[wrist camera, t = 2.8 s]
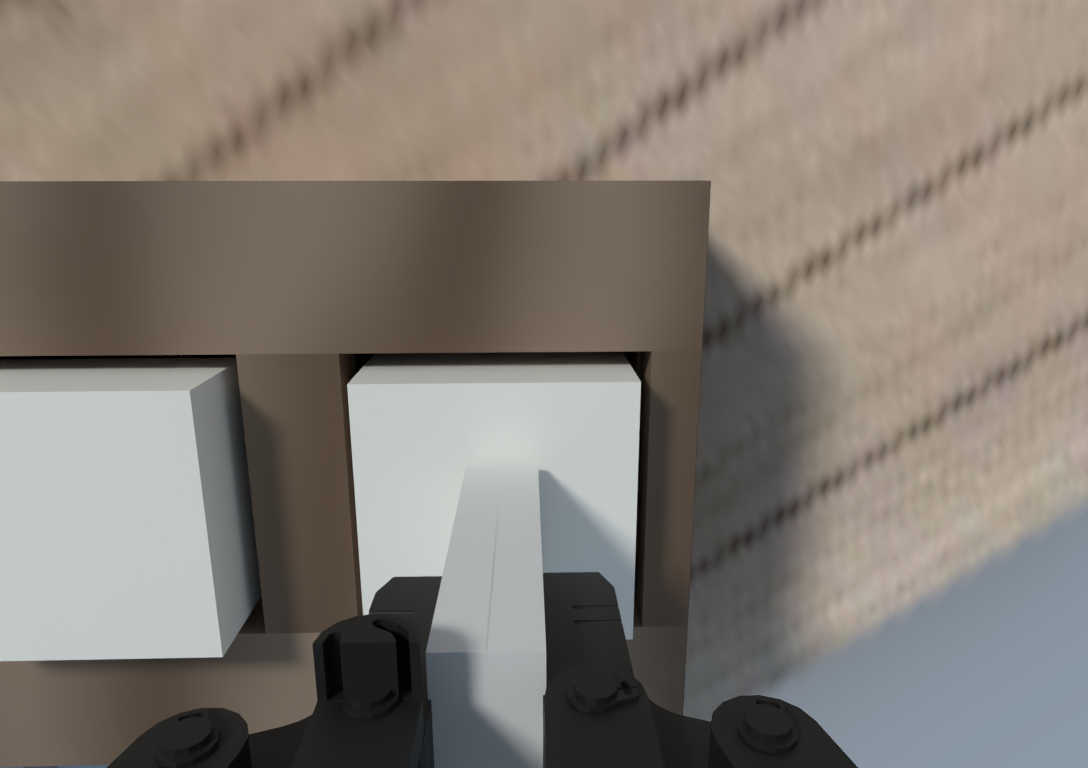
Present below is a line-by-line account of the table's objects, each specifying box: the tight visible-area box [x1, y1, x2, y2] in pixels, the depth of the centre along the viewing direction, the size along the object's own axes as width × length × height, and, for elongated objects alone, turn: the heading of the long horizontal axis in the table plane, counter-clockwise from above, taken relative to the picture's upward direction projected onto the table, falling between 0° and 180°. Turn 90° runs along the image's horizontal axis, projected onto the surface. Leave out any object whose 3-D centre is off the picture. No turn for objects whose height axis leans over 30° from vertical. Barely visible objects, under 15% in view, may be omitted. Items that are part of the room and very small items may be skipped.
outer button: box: [347, 352, 641, 640], centre depth 18 cm, size 6×6×3 cm
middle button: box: [0, 358, 262, 661], centre depth 17 cm, size 6×6×3 cm
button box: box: [0, 181, 711, 767], centre depth 20 cm, size 27×14×6 cm, turn 90°
